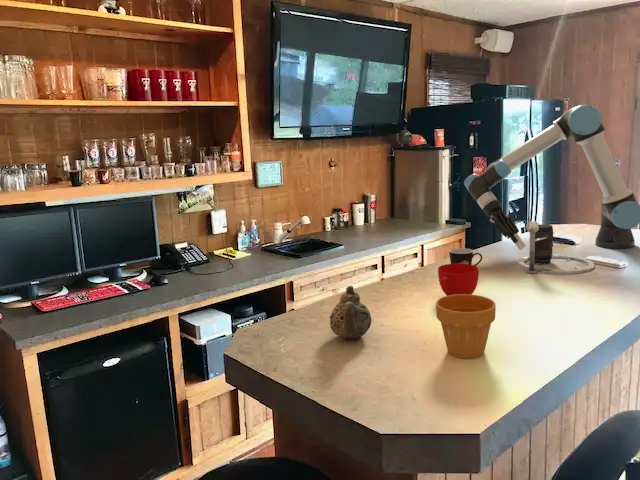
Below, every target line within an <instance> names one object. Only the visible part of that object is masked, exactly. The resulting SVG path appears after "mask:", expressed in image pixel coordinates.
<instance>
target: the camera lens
mask: <svg viewBox="0 0 640 480" xmlns="http://www.w3.org/2000/svg"><path fill="white" fill-rule="evenodd" d="M543 237H547V238H546V239H543V240H539V241H535V260H534V265H535V264H536V265H549V264H550V263H551V262H552V261H551V260H552V259H553V258H552V254H553V247H554V243H553V240H554V228H553V225H551V224H539V230H538V231H537V232H535V239H539V238H543Z"/></svg>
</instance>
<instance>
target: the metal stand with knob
mask: <svg viewBox="0 0 640 480" xmlns="http://www.w3.org/2000/svg"><path fill="white" fill-rule="evenodd" d="M539 225H540V224H539V222H537V221H536V220H529V221H528V222H527V223H526V225H525V227H526V230H527V232H528V233H529V255H528V256H529V260H528V265H529V269H524V270H525V274H527V275H528V274H529V275H536V274H538V273H539V272H538V270H535V269H534V267H535V263H534V260H535V241H539V240H543V239H546V238H547V237H543V238H539V239H535V232H537V231H538V230H539Z"/></svg>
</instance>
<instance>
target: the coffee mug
mask: <svg viewBox="0 0 640 480" xmlns="http://www.w3.org/2000/svg"><path fill="white" fill-rule="evenodd" d="M448 252H449V260H450V264H456V263H460V264H470V265H473V259H474V257H475V256H476V255H478V256H480V258H479V261H478V262H476V263H475V264H474V266H476V267H477V266H478V265H479V264H480V263H481V262H482V260H483V255H482V254H481V253H479V252H474V250H473V249H470V248H464V247H463V248H461V247H460V248H451V249H449V250H448Z"/></svg>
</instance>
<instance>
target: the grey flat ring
mask: <svg viewBox="0 0 640 480" xmlns="http://www.w3.org/2000/svg"><path fill="white" fill-rule="evenodd" d="M552 259H563V260H565V262H570V261H572V260H573V261H576V262H581V263H583V264H585V265H586V266H583V267H574V269H549V268H548V269H546V268H544V267H540V268H539V267H535V266H534V269H535V270H538V273H543V274H549V275H550V274H553V275H554V274H555V275H571V274H582V273H586V272H591V271H592V270H594V269H595V264H594V262H593V261H591V260H590V259H588V258H585V257H580V256H575V255H568V254H555V253H554V254H553V253H552ZM587 259H588V260H587ZM517 262H518V263H517V265H518V266H519V267H521V269H523V270H526V269H529V264H527V263H526V262H529V255H528V256H523V257H520V258H519V259H518V261H517Z"/></svg>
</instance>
